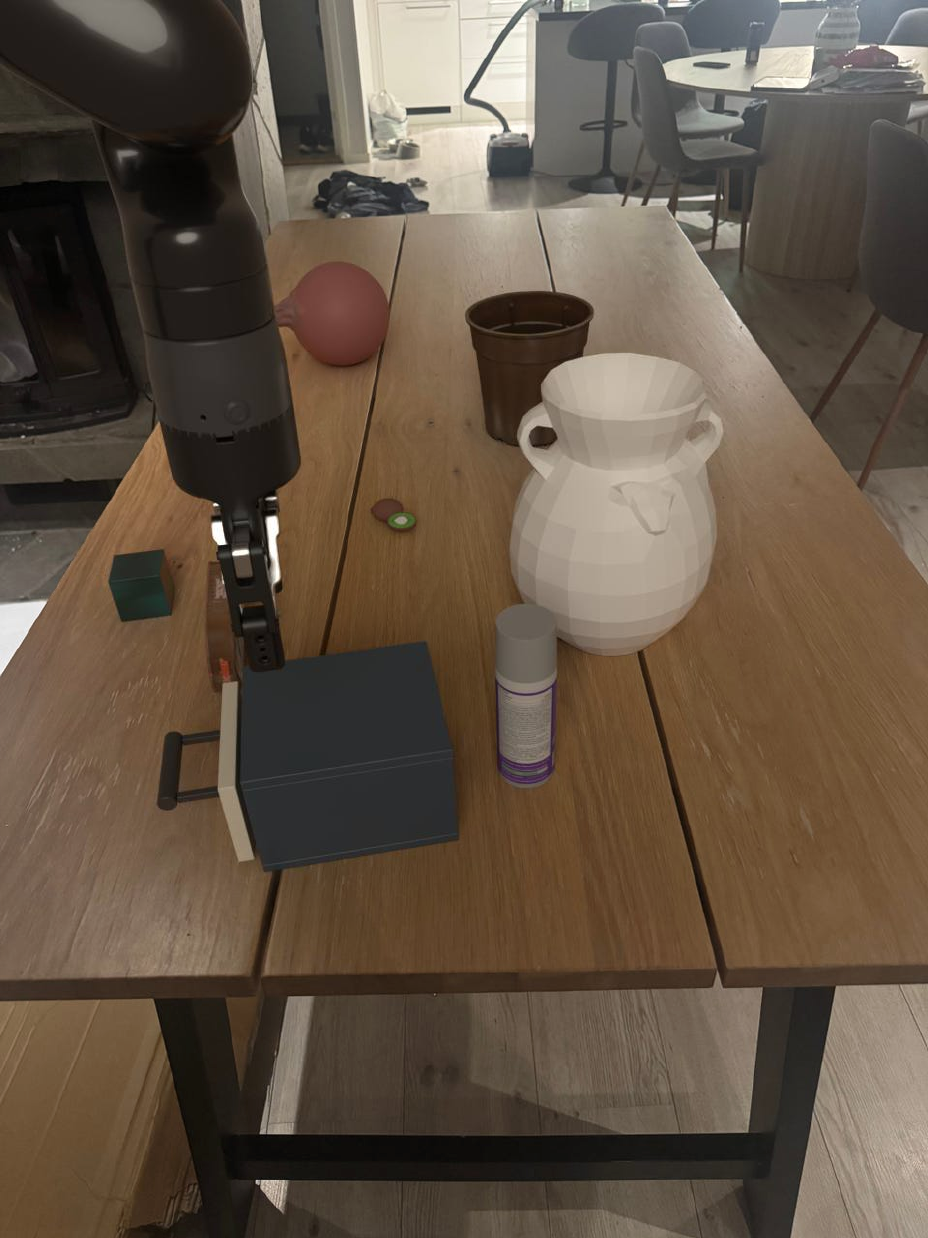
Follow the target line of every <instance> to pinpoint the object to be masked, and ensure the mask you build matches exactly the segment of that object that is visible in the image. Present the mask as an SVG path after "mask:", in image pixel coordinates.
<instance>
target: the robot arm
mask: <svg viewBox="0 0 928 1238" xmlns="http://www.w3.org/2000/svg"><path fill="white" fill-rule="evenodd" d="M0 67H1V68H3V69H4V70H6V71H8V72H9V73H10V74H12V75H14V76H16V77H17V78H19V79H20V80H22V81H24V82H26V83H27V84H30V85H31V86H33V87H34V88H36V89H38V90H40V91H41V92H43V93H45V94H46V95H48V96H50V97H52V98H53V99H55V100H57V101H59V102H61V103H62V104H64V105H66V106H67V107H69V108H71V109H73V110H74V111H76V112H78V113H80V114H82V115H84V116H85V117H87V118H89V120H90V123H91V127H92V131H93V134H94V138H95V140H96V145H97V147H98V150H99V154H100V156H101V161H102V163H103V166H104V170H105V173H106V177H107V180H108V182H109V185H110V188H111V192H112V195H113V198H114V200H115V203H116V207H117V209H118V214H119V218H120V224H121V229H122V237H123V242H124V251H125V258H126V263H127V268H128V274H129V277H130V282H131V285H132V290H133V291H132V292H133V295H134V299H135V303H136V307H137V311H138V316H139V320H140V324H141V328H142V329H141V330H142V334H143V342H144V352H145V362H146V363H145V364H146V371H147V375H148V381H149V384H150V388H151V389H150V390H151V393H152V396H153V401H154V405H155V409H156V414H157V418H158V422H159V426H160V430H161V435H162V439H163V443H164V447H165V453H166V455H167V460H168V464H169V468H170V473H171V477H172V480H173V482H174V484H175V485H176V486H177V487H178V488H179V489H180V490H181V491H182V492H184V493H186V494H187V495H189V496H192V497H194V498H197V499H202V500H206V501H209V502H211V503H212V506H213V507H212V508H213V511H214V514H210V524H211V525H210V527H211V535H212V538H213V540H214V541H215V542H216V543H217V551H215V554H216V555H215V557H216V560H217V561H216V562H220V567H221V573H222V581H223V584H224V586H225V591H226V596H227V601H228V606H229V611H230V615H231V620H232V624H231V629H232V632H234V635H235V638H239V637H243V639H244V644H245V653H246V658H247V662H248V666H249V667H250V669H251V670H252V671H253V672H265V671H272V670H279V669H282V668H283V667H284V666H285V661H286V656H285V650H284V644H283V638H282V633H281V627H280V625H281V624H280V618H281V617H282V616H281V615H282V614H281V609H280V608H279V607H278V600H277V599H278V598H277V594H279V593H281V592H282V591H283V589H284V588H283V587H284V585H283V572H282V565H281V557H280V548H279V542H278V541H279V540H278V539H279V537H280V536H281V532H282V531H281V521H280V520H281V519H280V512H281V509H280V500H279V499H280V498H279V491H278V490H279V489H281V488H282V487H284V486H286V485H287V484H288V483H290V482H291V481H292V480H293V479H294V478H295V477H296V475H297V474H298V472H299V471H300V468H301V464H302V456H301V449H300V442H299V436H298V435H299V434H298V428H297V427H298V426H297V421H296V414H295V407H294V400H293V394H292V388H291V386H292V385H291V380H290V379H291V378H290V372H289V366H288V360H287V359H288V358H287V353H286V350H285V349H286V348H285V346H284V345H285V344H284V341H283V338H282V335H281V331H280V327H278V324H277V319H276V314H275V307H274V306H275V301H274V294H273V287H272V283H271V282H272V281H271V280H272V279H271V274H270V273H271V272H270V267H269V261H268V257H267V256H268V255H267V249H266V244H265V239H264V235H263V231H262V228H261V225H260V221H259V219H258V217H257V214H256V213H255V211H254V209H253V207H252V205H251V203H250V202H249V200H248V198H247V196H246V193H245V191H244V188H243V185H242V181H241V175H240V170H239V169H240V168H239V162H238V157H237V152H236V145H235V140H234V135H233V134H234V133H235V132H236V131H237V129H238V128H239V127H240V126H241V124H242V122H243V121H244V119H245V117H246V114H247V112H248V110H249V106H250V104H251V101H252V95H253V88H254V87H253V86H254V72H253V70H254V69H253V63H252V57H251V53H250V50H249V46H248V43H247V41H246V38H245V35H244V33H243V31H242V29H241V27H240V25H239V24H238V22H237V19H236V18H235V17H234V15H233V14H232V12H231V11H230V10H229V8H228V7H227V6H226V5H225V3H224V2H223V1H222V0H0ZM250 603H262V604H260V605H252V606H245V604H250Z"/></svg>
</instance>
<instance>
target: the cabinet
mask: <svg viewBox="0 0 928 1238" xmlns="http://www.w3.org/2000/svg"><path fill="white" fill-rule="evenodd" d="M433 666H434V665H433V662H432V658H431V653H430V649H429V645H428V641H427V640H422V641H414V642H408V643H400V644H394V645H386V646H380V647H372V648H366V649H365V648H364V649H359V650H357V649H356V650H350V651H344V652H337V653H329V654H321V655H314V656H307V657H302V658H301V657H300V658H295V659H285V666H284V667H283V668H282V669H279V670H272V671H265V672H253V671H252V670H251V669H250V667H249V665H244V666H243V671H242V687H241V696H242V720H241V769H240V784H241V788H242V792H243V795H244V799H245V803H246V807H247V811H248V814H249V818H250V822H251V826H252V830H253V833H254V837H255V846H256V848H257V852H258V856H259V859H260V863H261V868H262V871H263V873H270V872H275V871H282V870H288V869H293V868H300V867H305V866H311V865H318V864H324V863H329V862H335V861H342V860H347V859H353V858H359V857H360V858H361V857H365V856H371V855H378V854H383V853H388V852H396V851H401V850H407V849H415V848H419V847H425V846H430V845H432V846H433V845H438V844H443V843H448V842H449V843H450V842H455V841H456V842H457V841H459V828H458V827H459V825H458V812H457V811H458V809H457V796H456V781H455V766H454V765H455V763H454V749H453V746H452V741H451V737H450V734H449V729H448V724H447V721H446V720H447V719H446V715H445V713H444V707H443V703H442V699H441V695H440V691H439V687H438V683H437V678H436V674H435V670H434V667H433Z"/></svg>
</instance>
